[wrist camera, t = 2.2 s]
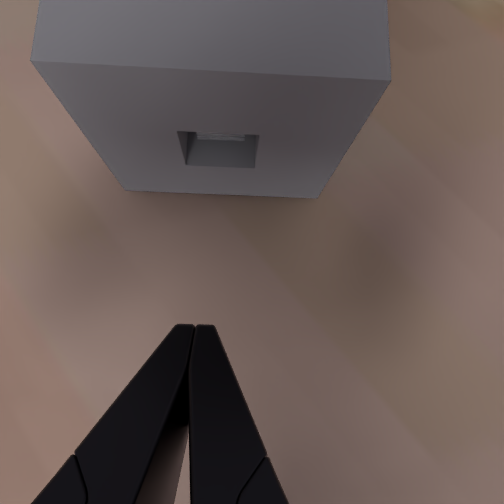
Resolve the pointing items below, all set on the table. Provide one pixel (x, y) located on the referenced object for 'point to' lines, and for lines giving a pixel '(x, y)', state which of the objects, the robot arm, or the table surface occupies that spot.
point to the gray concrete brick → (216, 87)
